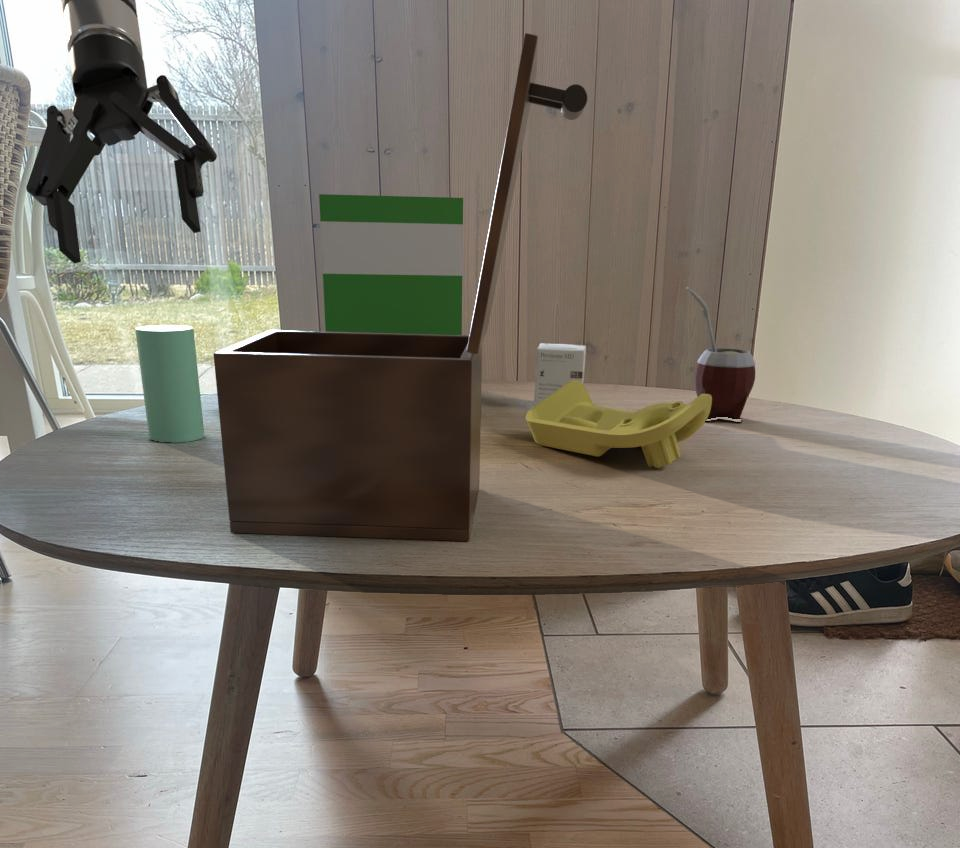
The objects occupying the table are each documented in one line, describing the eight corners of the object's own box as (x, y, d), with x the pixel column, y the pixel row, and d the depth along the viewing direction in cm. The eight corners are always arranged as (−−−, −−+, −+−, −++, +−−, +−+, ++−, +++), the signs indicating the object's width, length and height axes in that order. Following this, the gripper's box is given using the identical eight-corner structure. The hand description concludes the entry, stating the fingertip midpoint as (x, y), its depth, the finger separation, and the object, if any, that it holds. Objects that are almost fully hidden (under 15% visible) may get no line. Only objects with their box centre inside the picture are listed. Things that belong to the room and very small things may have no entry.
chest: (230, 533, 69) (212, 353, 63) (279, 481, 82) (268, 329, 77) (469, 541, 68) (472, 360, 63) (479, 488, 81) (482, 335, 76)
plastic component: (516, 419, 97) (583, 370, 101) (540, 478, 101) (604, 430, 105) (646, 441, 82) (720, 383, 85) (668, 509, 86) (739, 452, 89)
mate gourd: (759, 420, 113) (778, 288, 106) (722, 427, 108) (740, 290, 102) (708, 410, 118) (724, 284, 111) (670, 417, 113) (684, 286, 107)
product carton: (533, 408, 116) (535, 347, 113) (536, 400, 122) (539, 342, 119) (581, 410, 116) (585, 349, 113) (582, 402, 121) (586, 343, 118)
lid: (525, 32, 55) (600, 49, 55) (526, 69, 68) (586, 83, 68) (466, 352, 62) (532, 366, 63) (477, 328, 76) (532, 340, 76)
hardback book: (328, 395, 122) (319, 194, 112) (330, 386, 129) (321, 195, 119) (461, 395, 124) (463, 197, 114) (456, 386, 131) (457, 198, 121)
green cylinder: (140, 442, 95) (126, 330, 91) (160, 430, 100) (147, 324, 96) (194, 443, 95) (182, 331, 90) (211, 432, 100) (200, 325, 96)
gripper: (230, 52, 101) (257, 231, 98) (22, 110, 104) (42, 285, 101) (200, -2, 93) (228, 191, 91) (-24, 62, 97) (-3, 250, 94)
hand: (130, 241), depth 96 cm, fingers open, 13 cm apart
